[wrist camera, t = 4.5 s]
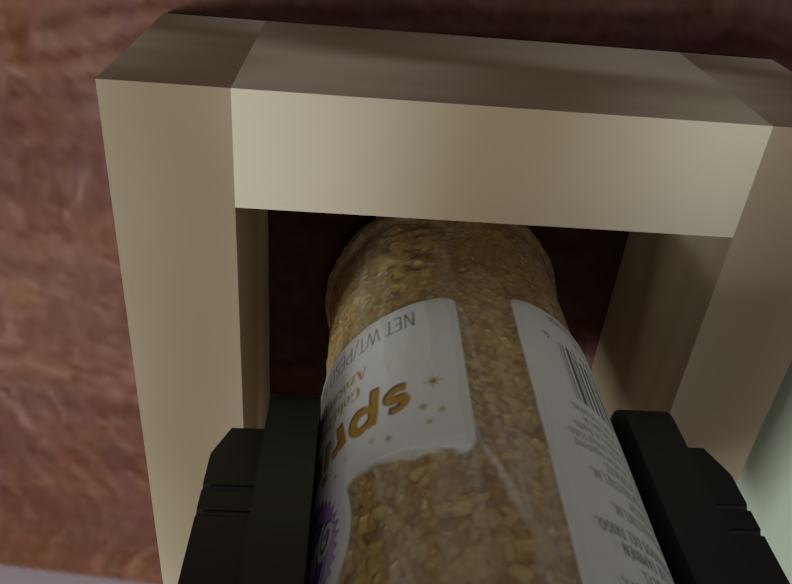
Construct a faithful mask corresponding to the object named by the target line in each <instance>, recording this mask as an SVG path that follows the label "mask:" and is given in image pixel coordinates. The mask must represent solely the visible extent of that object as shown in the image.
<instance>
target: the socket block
mask: <svg viewBox="0 0 792 584" xmlns="http://www.w3.org/2000/svg"><path fill="white" fill-rule="evenodd" d="M95 80H96V88H97V95H98V103H99V110H100V118H101V125H102V133H103V140H104V147H105V155H106V162H107V170H108V177H109V185H110V192H111V200H112V207H113V214H114V222H115V229H116V237H117V244H118V252H119V259H120V266H121V274H122V281H123V289H124V296H125V304H126V311H127V319H128V326H129V333H130V341H131V348H132V356H133V363H134V371H135V378H136V386H137V393H138V400H139V408H140V415H141V423H142V430H143V438H144V445H145V453H146V460H147V467H148V475H149V482H150V490H151V497H152V505H153V512H154V520H155V527H156V534H157V542H158V549H159V557H160V564H161V572H162V579H163V584H178V580H179V576H180V572H181V568H182V564H183V560H184V557H185V553H186V549H187V545H188V541H189V537H190V533H191V529H192V525H193V521H194V517H195V516H196V509H197V505H198V501H199V497H200V493H201V490H202V489H203V481H204V477H205V473H206V469H207V465H208V461H209V457H210V454H211V452H212V451H213V450H214V449H215V447H216V446H217V445H218V444H219V443H220V441H221V440H222V439H223V438H224V437H225V435H226V434H227V433H228V432H229V431H230V429H231V428H253V429H265V424H266V418H267V413H268V407H269V401H270V334H269V252H268V210H284V211H301V212H317V213H334V214H350V215H367V216H384V217H400V218H417V219H433V220H450V221H466V222H483V223H500V224H516V225H533V226H549V227H566V228H583V229H599V230H616V231H629V234H628V238H627V241H626V245H625V248H624V252H623V256H622V259H621V263H620V267H619V270H618V274H617V277H616V281H615V285H614V288H613V292H612V295H611V299H610V303H609V306H608V310H607V314H606V317H605V321H604V324H603V328H602V332H601V335H600V339H599V342H598V346H597V350H596V353H595V357H594V361H593V364H592V368H591V372H592V375H593V377H594V380H595V382H596V385H597V387H598V390H599V392H600V395H601V398H602V400H603V403H604V405H605V408H606V410H607V413H608V416H609V418H611V416H612V414H613V413H614V411H616V410H641V411H664V412H668V413H669V414H670V415H671V416H672V417H673V419H674V420H675V422H676V424H677V426H678V428H679V430H680V432H681V434H682V436H683V438H684V441H685V443H686V445H687V447H691V448H704V449H705V450H706V451H707V452H708V453H709V454H710V455H711V456H712V457H713V458H714V459H715V460H716V461H717V462H718V463H720V464H721V465H722V466H723V467H724V468H725V469H726V470H727V471H728V472H729V473H730V474H731V475H732V477H733V479H734V481H735V483H736V482H737V480H738V478H739V475H740V473H741V471H742V469H743V467H744V464H745V462H746V460H747V458H748V456H749V453H750V451H751V449H752V447H753V444H754V442H755V440H756V438H757V436H758V433H759V431H760V429H761V427H762V425H763V422H764V420H765V418H766V416H767V414H768V411H769V409H770V407H771V405H772V403H773V400H774V398H775V396H776V394H777V392H778V389H779V387H780V385H781V383H782V381H783V378H784V376H785V374H786V372H787V370H788V367H789V365H790V363H791V361H792V72H791V71H790V70H788V69H787V68H785V67H783V66H782V65H780V64H778V63H777V62H775V61H774V60H772V59H760V58H747V57H734V56H721V55H708V54H695V53H682V52H668V51H655V50H642V49H629V48H616V47H603V46H590V45H577V44H563V43H550V42H537V41H524V40H511V39H498V38H485V37H472V36H458V35H445V34H432V33H419V32H406V31H393V30H380V29H367V28H354V27H340V26H327V25H314V24H301V23H288V22H275V21H262V20H249V19H235V18H222V17H209V16H196V15H183V14H170V13H164V14H163V15H162V16H160V17H159V18H158V19H157V20H156V21H155V22H154V23H153V24H152V25H151V26H150V27H149V28H148V29H147V30H146V31H145V32H144V33H143V34H142V35H140V36H139V37H138V38H137V39H136V40H135V41H134V42H133V43H132V44H131V45H130V46H129V47H128V48H127V49H126V50H125V51H124V52H123V53H122V54H121V55H119V56H118V57H117V58H116V59H115V60H114V61H113V62H112V63H111V64H110V65H109V66H108V67H107V68H106V69H105V70H104V71H103V72H102V73H101V74H100V75H98V76H97V77H96V78H95Z"/></svg>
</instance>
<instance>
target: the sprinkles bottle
mask: <svg viewBox="0 0 792 584" xmlns="http://www.w3.org/2000/svg"><path fill="white" fill-rule="evenodd" d="M325 310H326V316H327V322H328V327H329V343H328V358H327V362H326V367H327V374H326V381H325V384H324V387H323V392H322V397H321V417H320V432H319V444H318V456H317V469H316V483H315V495H314V507H313V519H312V533H311V546H310V558H309V569H308V581H307V584H674V582H673V579H672V577H671V574H670V572H669V569H668V567H667V564H666V561H665V559H664V556H663V554H662V551H661V549H660V546H659V544H658V541H657V538H656V536H655V533H654V531H653V528H652V525H651V523H650V520H649V518H648V515H647V513H646V510H645V507H644V505H643V502H642V500H641V497H640V494H639V492H638V489H637V487H636V484H635V481H634V479H633V476H632V474H631V471H630V469H629V466H628V463H627V461H626V458H625V456H624V453H623V451H622V448H621V446H620V443H619V441H618V438H617V436H616V433H615V431H614V428H613V426H612V423H611V421H610V418H609V416H608V413H607V410H606V408H605V405H604V403H603V400H602V398H601V395H600V392H599V390H598V387H597V385H596V382H595V380H594V377H593V375H592V372H591V369H590V367H589V364H588V362H587V359H586V357H585V355H584V353H583V352H582V350H581V348H580V346H579V345H578V343H577V342H576V341H575V339H574V338H573V337H572V335H571V334H570V331H569V328H568V325H567V323H566V320H565V317H564V315H563V313H562V310H561V308H560V305H559V301H558V297H557V289H556V283H555V273H554V269H553V266H552V264H551V260H550V258H549V256H548V254H547V253H546V251H545V250H544V249H543V247H542V245H541V244H540V242H539V240H538V239H537V238H536V236H535V235H534V234H533V233H532V232H531V231H530V230H529V228H528V227H526V226H525V225H516V224H500V223H483V222H466V221H450V220H433V219H417V218H400V217H384V216H379V217H377V218H376V219H375V220H373V221H372V222H370V223H367V224H366V225H365V226H363V227H362V228H361V229H360V230H359V231H358V232H357V233H356V234H355V235H354V236H353V238H352V239H351V240H350V241H349V243H348V244H347V245H346V246H345V247H344V249H343V251H342V254H341V256H340V257H338V258H337V260H336V262H335V266H334V268H333V269H332V271H331V273H330V275H329V277H328V285H327V292H326V296H325Z"/></svg>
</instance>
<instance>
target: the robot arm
mask: <svg viewBox="0 0 792 584" xmlns="http://www.w3.org/2000/svg"><path fill="white" fill-rule="evenodd" d="M320 417H321V395H299V394H277V393H272V394H271V397H270V401H269V407H268V413H267V418H266V424H265V429H253V428H231V429H230V431H229V432H228V433H227V434H226V435H225V437H224V438H223V439H222V440H221V441H220V443H219V444H218V445H217V446H216V447H215V449H214V450H213V451H212V452H211V454H210V457H209V461H208V465H207V469H206V473H205V477H204V481H203V489H202V490H201V493H200V497H199V501H198V505H197V509H196V516H195V517H194V521H193V525H192V529H191V533H190V537H189V541H188V545H187V549H186V553H185V557H184V560H183V564H182V568H181V572H180V576H179V580H178V584H307V581H308V569H309V558H310V546H311V533H312V519H313V507H314V495H315V483H316V469H317V456H318V444H319V432H320ZM610 421H611V423H612V426H613V428H614V431H615V433H616V436H617V438H618V441H619V443H620V446H621V448H622V451H623V453H624V456H625V458H626V461H627V463H628V466H629V469H630V471H631V474H632V476H633V479H634V481H635V484H636V487H637V489H638V492H639V494H640V497H641V500H642V502H643V505H644V507H645V510H646V513H647V515H648V518H649V520H650V523H651V525H652V528H653V531H654V533H655V536H656V538H657V541H658V544H659V546H660V549H661V551H662V554H663V556H664V559H665V561H666V564H667V567H668V569H669V572H670V574H671V577H672V579H673V582H674V584H790V583H789V581H788V579H787V577H786V575H785V573H784V572H783V570H782V568H781V566H780V564H779V562H778V560H777V559H776V557H775V555H774V553H773V551H772V549H771V547H770V546H769V544H768V542H767V540H766V538H765V536H761V533H760V531H761V529H760V527H759V525H758V523H757V522H756V520H755V518H754V516H753V514H752V512H751V511H748V510H747V503H746V501H745V499H744V498H743V496H742V494H741V492H740V490H739V488H738V486H737V485H736V483H735V481H734V479H733V477H732V475H731V474H730V473H729V472H728V471H727V470H726V469H725V468H724V467H723V466H722V465H721V464H720V463H718V462H717V461H716V460H715V459H714V458H713V457H712V456H711V455H710V454H709V453H708V452H707V451H706V450H705V449H704V448H691V447H687V445H686V443H685V441H684V438H683V436H682V434H681V432H680V430H679V428H678V426H677V424H676V422H675V420H674V419H673V417H672V416H671V415H670V414H669V413H668V412H664V411H641V410H616V411H614V413H613V414H612V416H611V418H610Z"/></svg>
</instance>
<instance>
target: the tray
mask: <svg viewBox="0 0 792 584" xmlns="http://www.w3.org/2000/svg"><path fill="white" fill-rule="evenodd" d="M736 485H737V486H738V488H739V490H740V492H741V494H742V496H743V498H744V499H745V501H746V503H747V510H748V511H751V512H752V514H753V516H754V518H755V520H756V522H757V523H758V525H759V527H760V529H761V531H760V533H761V536H765V538H766V540H767V542H768V544H769V546H770V547H771V549H772V551H773V553H774V555H775V557H776V559H777V560H778V562H779V564H780V566H781V568H782V570H783V572H784V573H785V575H786V577H787V579H788V581H789V583H790V584H792V361H791V363H790V365H789V367H788V370H787V372H786V374H785V376H784V378H783V381H782V383H781V385H780V387H779V389H778V392H777V394H776V396H775V398H774V400H773V403H772V405H771V407H770V409H769V411H768V414H767V416H766V418H765V420H764V422H763V425H762V427H761V429H760V431H759V433H758V436H757V438H756V440H755V442H754V444H753V447H752V449H751V451H750V453H749V456H748V458H747V460H746V462H745V464H744V467H743V469H742V471H741V473H740V475H739V478H738V480H737V482H736Z"/></svg>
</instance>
